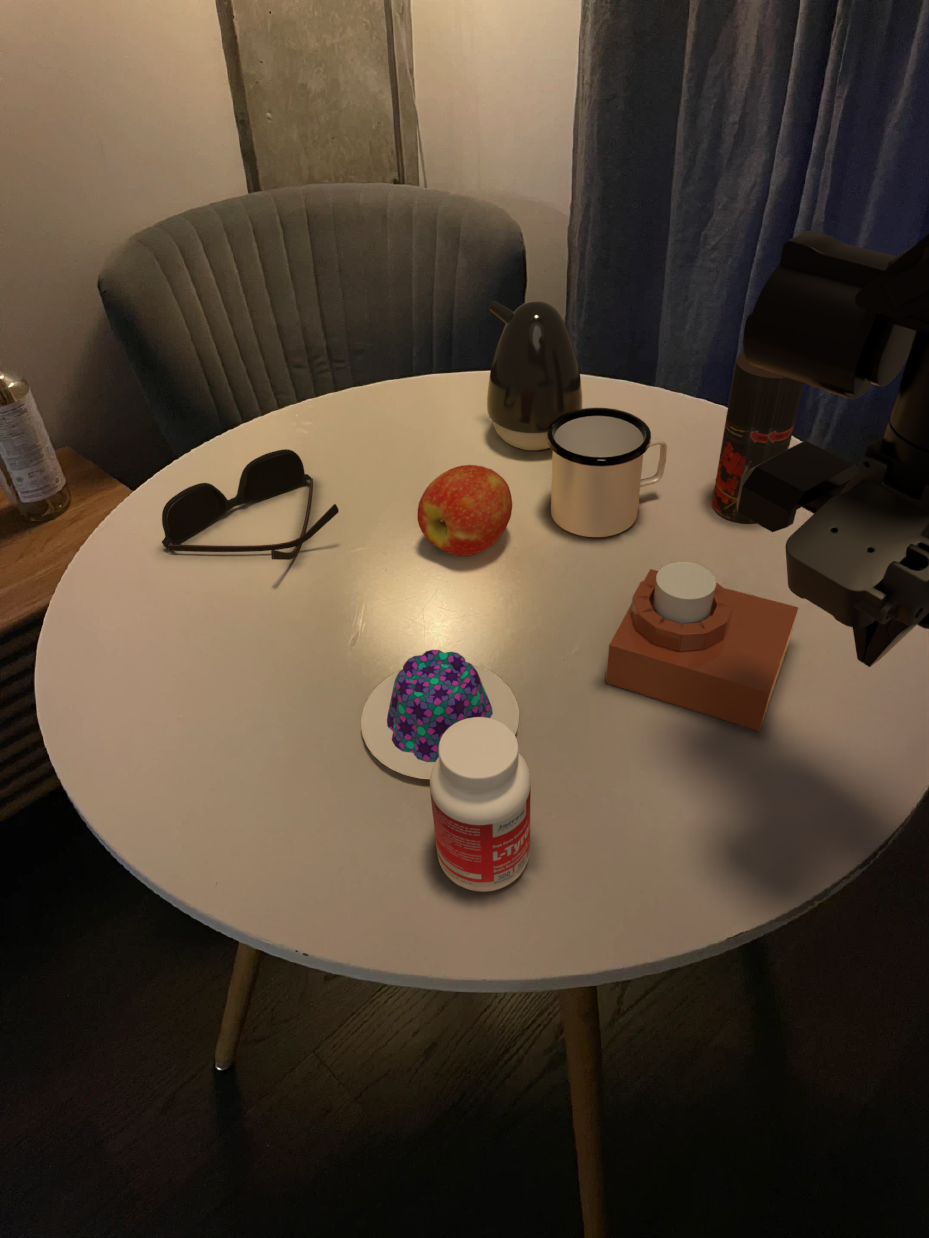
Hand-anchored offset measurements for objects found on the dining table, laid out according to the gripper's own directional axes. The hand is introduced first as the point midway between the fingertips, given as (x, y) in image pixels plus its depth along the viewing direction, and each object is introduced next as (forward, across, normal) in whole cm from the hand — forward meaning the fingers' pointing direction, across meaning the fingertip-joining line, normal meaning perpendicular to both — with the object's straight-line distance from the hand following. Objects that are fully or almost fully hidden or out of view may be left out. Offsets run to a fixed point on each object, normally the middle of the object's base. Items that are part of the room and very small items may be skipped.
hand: (868, 660), depth 53 cm
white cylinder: (+7, -16, +2) cm, 17 cm away
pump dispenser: (+13, -49, +15) cm, 53 cm away
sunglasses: (+13, -51, -16) cm, 55 cm away
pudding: (+13, -22, -17) cm, 30 cm away
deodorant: (+13, -26, +23) cm, 37 cm away
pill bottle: (+13, -10, -21) cm, 27 cm away
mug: (+13, -34, +12) cm, 38 cm away
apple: (+13, -38, -2) cm, 41 cm away
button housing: (+13, -14, +3) cm, 19 cm away
